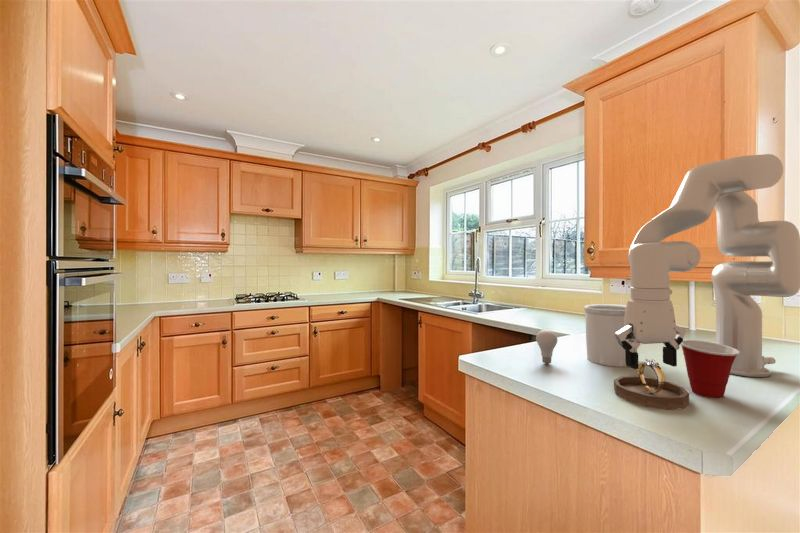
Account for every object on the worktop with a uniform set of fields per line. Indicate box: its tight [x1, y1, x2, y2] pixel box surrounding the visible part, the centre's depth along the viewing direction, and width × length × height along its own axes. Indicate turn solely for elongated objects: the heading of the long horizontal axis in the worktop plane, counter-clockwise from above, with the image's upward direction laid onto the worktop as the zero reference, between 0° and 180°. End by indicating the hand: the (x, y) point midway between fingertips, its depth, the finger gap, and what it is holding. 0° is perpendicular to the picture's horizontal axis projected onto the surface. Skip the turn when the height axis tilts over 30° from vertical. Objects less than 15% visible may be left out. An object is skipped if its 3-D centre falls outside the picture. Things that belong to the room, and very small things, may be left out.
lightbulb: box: [535, 329, 558, 365], centre depth 107 cm, size 6×6×11 cm
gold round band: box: [636, 358, 665, 393], centre depth 82 cm, size 7×3×8 cm, turn 176°
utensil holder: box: [583, 303, 638, 368], centre depth 110 cm, size 15×15×18 cm
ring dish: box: [613, 375, 690, 411], centre depth 81 cm, size 14×14×2 cm
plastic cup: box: [680, 339, 740, 399], centre depth 82 cm, size 11×11×12 cm
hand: (650, 366), depth 82 cm, fingers open, 9 cm apart
